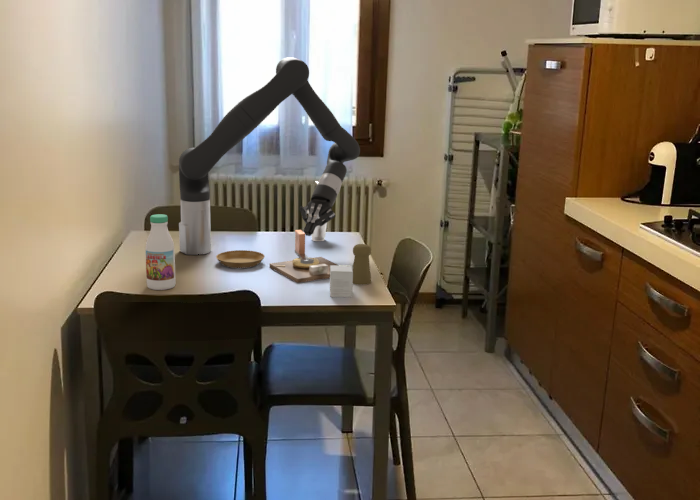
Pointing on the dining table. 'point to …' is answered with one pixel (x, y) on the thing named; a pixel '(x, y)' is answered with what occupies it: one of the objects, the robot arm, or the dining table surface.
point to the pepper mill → (361, 264)
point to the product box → (341, 281)
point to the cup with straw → (319, 231)
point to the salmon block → (302, 252)
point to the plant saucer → (240, 258)
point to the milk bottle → (160, 255)
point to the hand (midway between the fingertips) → (307, 234)
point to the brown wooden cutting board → (304, 270)
